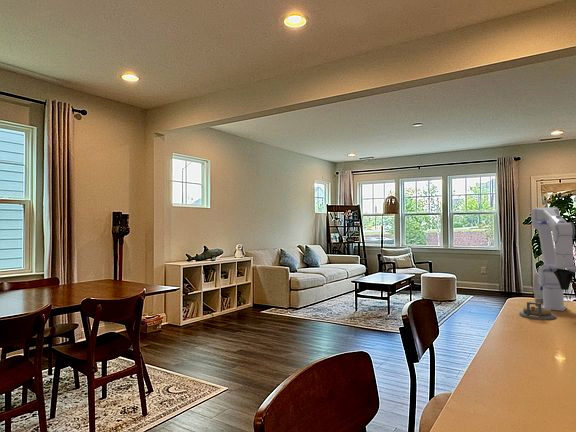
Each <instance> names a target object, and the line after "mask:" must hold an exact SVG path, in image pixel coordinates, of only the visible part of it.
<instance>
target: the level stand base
mask: <svg viewBox="0 0 576 432" xmlns="http://www.w3.org/2000/svg"><path fill="white" fill-rule="evenodd" d="M531 305H532V306H533V305H534V306H535V305H538V308H539V315H532V314H530V307H531ZM526 307H527V313H524V312H523V310H520V311H519V314H518V315H519V316H520V317H522V318H525V319H526V318H527V319H532V320H538V321H539V320H541V321H545V320H546V321H547V320H548V321H549V320H550V321H551V320H555V319H556V317H557V315H556V314H555V313H552V312H551V315H542V312H541V307H542V302H541V303H535V302H532V301H526Z"/></svg>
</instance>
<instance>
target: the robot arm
mask: <svg viewBox="0 0 576 432" xmlns="http://www.w3.org/2000/svg"><path fill="white" fill-rule="evenodd" d="M530 217H531V224H532V227H533V229H535V230H537V232H538V236H539V242H540V247H541V248H540V249H541V254H542V259H543V260H542V261H543V265H541V266H540V267H538V269H537V274H538V282H539V284H540V285H541V286H542V287H543V302H542V304H543V305H541V307H543V308H548V309H551V311H558V312H559V311H562V312H564V311H565V310H566V308H567V306H565V305H564V303H565V301H564V297H565V296H564V291H566V290H567V291H568V290H570V285H571V284H572V283H571V282H572V280H573V278H574V277H575V275H576V265H574V247H573V244H574V242H573V241H574V240H573V239H574V238H575V234H576V228H575V225H574V222H567V221H566V220H565V218H564V217H563V216H561V214H560V209H559V208H558V207H557V206H553V207H533V208H532V209H531V213H530Z"/></svg>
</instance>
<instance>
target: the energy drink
mask: <svg viewBox="0 0 576 432" xmlns="http://www.w3.org/2000/svg"><path fill="white" fill-rule="evenodd" d="M533 292H534V293H533V294H534V295H533V297H534V300H533V301H535V298H541V303H543V287H542V286H541V285H540V284H539V282H538V273H537V274H534V275H533Z"/></svg>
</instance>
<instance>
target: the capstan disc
mask: <svg viewBox="0 0 576 432" xmlns="http://www.w3.org/2000/svg"><path fill="white" fill-rule="evenodd" d="M534 303H541V304H542V302H541V298H535V300H534ZM522 309H523V310H522V311H523V312H524V313H527V306H524V307H523V308H522ZM541 312H542V315H551V313H552V310H551V309H548V308H543V307H542V306H541ZM530 314H532V315H539V308H538V305H534V306H533V305H530Z"/></svg>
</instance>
